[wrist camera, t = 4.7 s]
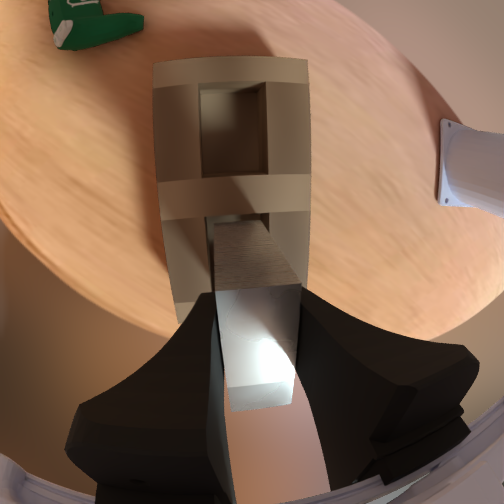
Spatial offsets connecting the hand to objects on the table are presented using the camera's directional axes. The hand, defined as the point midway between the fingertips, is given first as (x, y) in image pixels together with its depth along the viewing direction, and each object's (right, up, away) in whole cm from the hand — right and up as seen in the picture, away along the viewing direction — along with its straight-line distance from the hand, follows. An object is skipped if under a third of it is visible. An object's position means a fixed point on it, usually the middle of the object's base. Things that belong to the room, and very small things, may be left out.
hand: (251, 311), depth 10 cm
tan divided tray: (-1, +7, +7) cm, 10 cm away
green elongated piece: (-11, +20, +1) cm, 23 cm away
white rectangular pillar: (-1, +2, +4) cm, 5 cm away
